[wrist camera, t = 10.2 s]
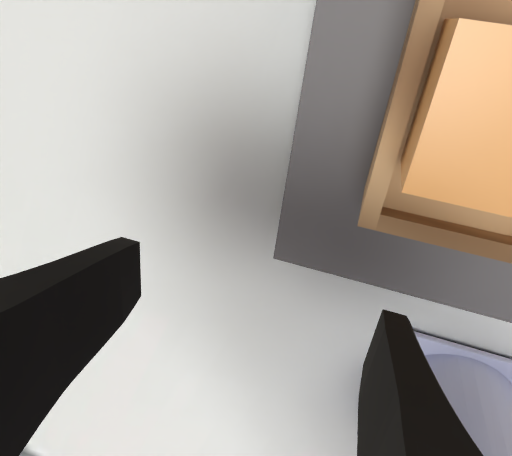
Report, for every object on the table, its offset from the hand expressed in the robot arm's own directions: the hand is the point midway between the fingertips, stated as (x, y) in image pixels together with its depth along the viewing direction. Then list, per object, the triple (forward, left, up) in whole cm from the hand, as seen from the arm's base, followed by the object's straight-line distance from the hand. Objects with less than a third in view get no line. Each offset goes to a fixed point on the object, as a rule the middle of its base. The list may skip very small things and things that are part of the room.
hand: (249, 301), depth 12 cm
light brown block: (+6, -5, -4) cm, 9 cm away
